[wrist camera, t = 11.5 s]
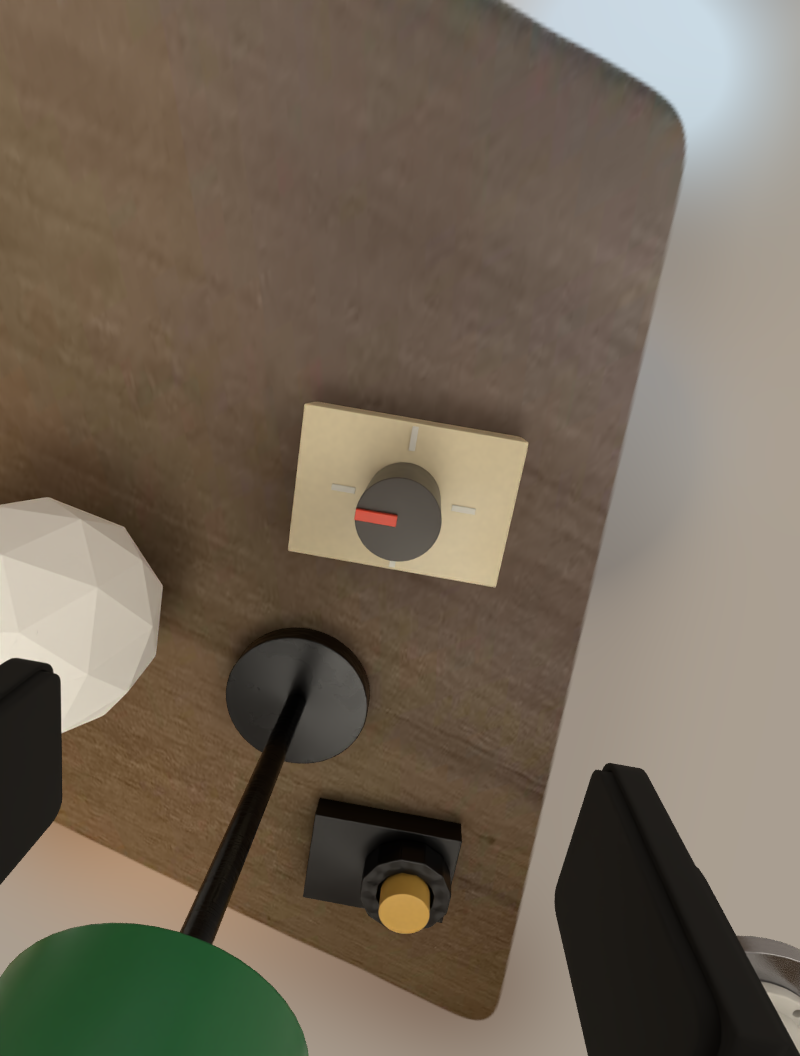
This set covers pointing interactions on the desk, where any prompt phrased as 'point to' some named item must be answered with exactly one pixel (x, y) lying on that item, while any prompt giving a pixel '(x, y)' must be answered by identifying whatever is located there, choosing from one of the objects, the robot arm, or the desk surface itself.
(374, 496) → the dimmer knob
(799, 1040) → the robot arm
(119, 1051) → the desk lamp
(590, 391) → the desk surface
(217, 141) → the desk surface
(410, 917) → the button
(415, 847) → the button base
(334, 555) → the dimmer panel
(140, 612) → the geodesic sphere
